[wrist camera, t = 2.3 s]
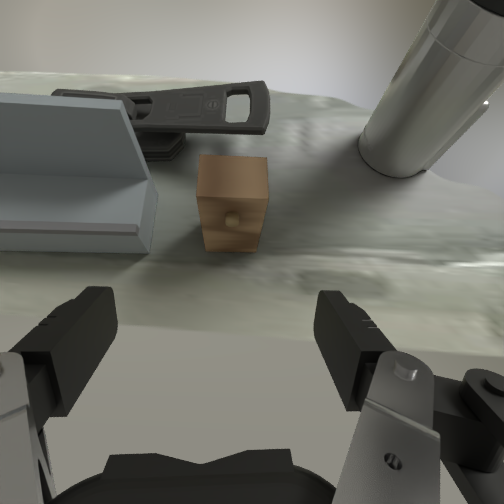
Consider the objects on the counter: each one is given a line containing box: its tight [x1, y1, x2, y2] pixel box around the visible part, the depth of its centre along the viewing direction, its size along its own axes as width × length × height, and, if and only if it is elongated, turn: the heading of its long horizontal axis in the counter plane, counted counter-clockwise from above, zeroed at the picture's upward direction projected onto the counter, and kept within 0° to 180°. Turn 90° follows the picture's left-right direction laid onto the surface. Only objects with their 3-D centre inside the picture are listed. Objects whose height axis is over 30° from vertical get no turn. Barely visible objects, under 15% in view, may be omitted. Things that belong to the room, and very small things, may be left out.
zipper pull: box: [51, 81, 270, 161], centre depth 32 cm, size 9×7×25 cm
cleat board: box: [0, 93, 158, 254], centre depth 24 cm, size 18×7×12 cm, turn 91°
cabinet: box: [196, 154, 269, 252], centre depth 26 cm, size 5×5×10 cm
